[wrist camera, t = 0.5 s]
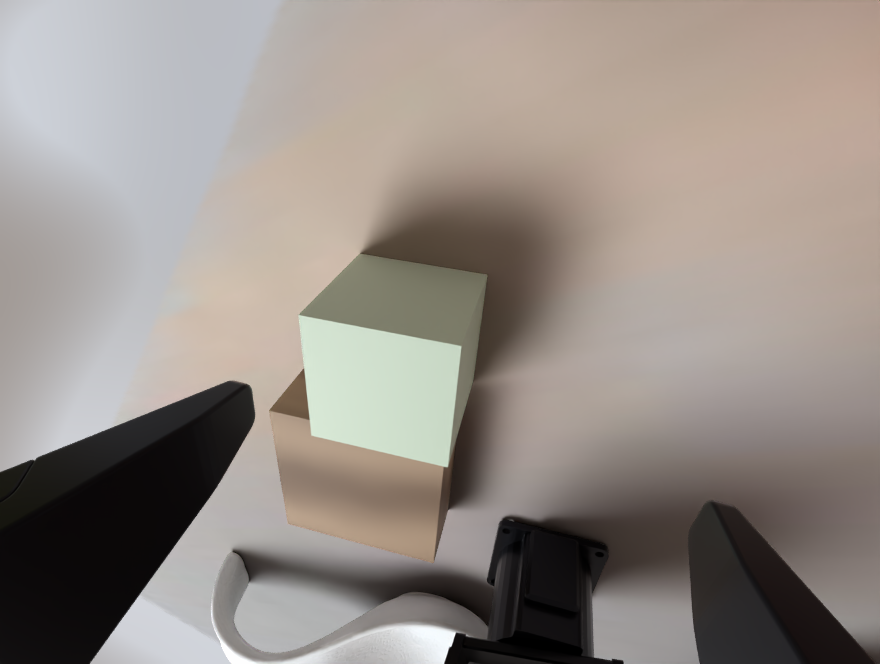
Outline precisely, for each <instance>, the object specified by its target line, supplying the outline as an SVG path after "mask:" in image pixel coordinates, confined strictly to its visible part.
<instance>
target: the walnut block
mask: <svg viewBox="0 0 880 664" xmlns="http://www.w3.org/2000/svg"><path fill="white" fill-rule="evenodd" d="M269 413H270V419H271V425H272V431H273V437H274V443H275V449H276V455H277V461H278V467H279V473H280V479H281V485H282V491H283V497H284V503H285V509H286V515H287V521H288V524H291V525H294V526H298V527H302V528H305V529H309V530H313V531H317V532H320V533H324V534H328V535H331V536H335V537H339V538H342V539H346V540H350V541H353V542H357V543H361V544H364V545H368V546H372V547H376V548H379V549H383V550H387V551H390V552H394V553H398V554H401V555H405V556H409V557H412V558H416V559H420V560H423V561H427V562H431V563H434V560H435V556H436V552H437V549H438V545H439V541H440V538H441V534H442V530H443V526H444V523H445V519H446V515H447V512H448V505H449V497H450V489H451V480H452V472H453V464H454V455H455V447H456V442H455V445H454V448H453V452H452V455H451V459H450V462H449V465H448V467H443V466H439V465H435V464H430V463H426V462H422V461H418V460H413V459H409V458H405V457H401V456H396V455H392V454H388V453H383V452H379V451H375V450H371V449H366V448H362V447H358V446H354V445H349V444H345V443H341V442H336V441H332V440H328V439H324V438H319V437H315V436H311V427H310V418H309V408H308V399H307V390H306V380H305V371H304V369H303V370H302V371H301V373H300V374H299V375H298V376H297V377H296V379H295V380H294V381H293V382H292V383H291V385H290V386H289V387H288V388H287V390H286V391H285V392H284V393H283V394H282V396H281V397H280V398H279V399H278V400H277V402H276V403H275V404H274V405H273V407H272V408H271V409H270V410H269ZM456 439H457V438H456Z"/></svg>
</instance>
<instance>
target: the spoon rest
mask: <svg viewBox="0 0 880 664" xmlns="http://www.w3.org/2000/svg"><path fill="white" fill-rule="evenodd" d="M248 583H249V577H248V573H247V571H246V569H245V566H244V562H243V560H242V559H241V557H240V556H239V555H238V554H236V553H234V552H231V553H229V554H228V555H227V557H226V559H225V560H224V562H223V564H222V566H221V568H220V570H219V573H218V575H217V578H216V581H215V585H214V589H213V594H212V601H211V617H212V623H213V626H214V629H215V632H216V634H217V636H218V638H219V639H220V642H221V646H222V648H223V651H224V652H225V655H226V656H227V658H228V659H229V661H230V662H231V664H444V662H445V659H446V656H447V653H448V649H449V647H451V646H452V643H453V640H454V637H455V634H456V632H457V633H463V634H466V636H470V637H476V638H481V639H487V633H488V626H487V625H486V624H485V623H484V622H483V621H482V620H481V619H480V618H479V617H478V616H476V615H475V614H474V613H472V612H471V611H470V610H468V609H466V608H465V607H463V606H461V605H459V604H457V603H454V602H453V601H451V600H448V599H446V598H444V597H441V596H437V595H434V594H429V593H423V592H410V593H405V594H402V595H400V596H399V597H398V598H394V599H392V600H389V601H386V602H384V603H382V604H380V605H378V606H376V607H375V608H373V609H371V610H370V611H368V612H367V613H365V614H363V615H362V616H360V617H358V618H357V619H355V620H353V621H351V622H350V623H348V624H346V625H345V626H343V627H341V628H339V629H338V630H336V631H334V632H333V633H331V634H329V635H327V636H325V637H324V638H322V639H319V640H317V641H315V642H313V643H311V644H309V645H307V646H304V647H301V648H299V649H296V650H292V651H288V652H282V653H268V652H263V651H260V650H258V649H255V648H254V647H252V646H251V645H249V644H248V643H247V642H246V641H245V640H244V639H243V638H242V637H241V635H240V634H239V633H238V631H237V629H236V627H235V624H234V615H235V612H236V609H237V606H238V604H239V602H240V600H241V598H242V596H243V594H244V592H245V590H246V588H247V586H248Z"/></svg>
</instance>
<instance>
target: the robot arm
mask: <svg viewBox="0 0 880 664" xmlns="http://www.w3.org/2000/svg"><path fill="white" fill-rule="evenodd" d="M254 420H255V409H254V401H253V394H252V388H251V387H250V385H248V384H245V383H241V382H237V381H227V382H225V383H222V384H220V385H217V386H215V387H212V388H210V389H207V390H205V391H202V392H200V393H197V394H195V395H192V396H190V397H187V398H185V399H182V400H180V401H177V402H175V403H172V404H170V405H167V406H165V407H162V408H160V409H157V410H155V411H152V412H150V413H147V414H145V415H142V416H140V417H137V418H135V419H132V420H130V421H127V422H125V423H122V424H120V425H117V426H115V427H112V428H110V429H107V430H105V431H102V432H100V433H97V434H95V435H93V436H90V437H87V438H85V439H82V440H80V441H77V442H75V443H72V444H70V445H67V446H65V447H62V448H60V449H58V450H55V451H52V452H50V453H47V454H45V455H42V456H40V457H38V458H36V460H35V461H34V460H30V461H27V462H25V463H22V464H20V465H17V466H15V467H12V468H10V469H7V470H4V471H2V472H0V664H90V662H91V661H92V660H93V658H94V657H95V656H96V654H97V653H98V652H99V650H100V649H101V647H102V646H103V645H104V643H105V641H106V640H107V639H108V638H109V636H110V635H111V633H112V632H113V631H114V629H115V628H116V627H117V625H118V624H119V622H120V621H121V620H122V618H123V617H124V615H125V614H126V613H127V611H128V610H129V609H130V607H131V605H132V604H133V603H134V602H135V600H136V599H137V597H138V596H139V595H140V593H141V592H142V591H143V589H144V588H145V586H146V585H147V584H148V582H149V581H150V579H151V578H152V577H153V575H154V574H155V573H156V571H157V570H158V568H159V567H160V566H161V564H162V563H163V561H164V560H165V559H166V557H167V556H168V555H169V553H170V552H171V550H172V549H173V548H174V546H175V545H176V543H177V542H178V541H179V539H180V538H181V537H182V535H183V534H184V532H185V531H186V530H187V528H188V527H189V525H190V524H191V523H192V521H193V520H194V519H195V517H196V516H197V514H198V513H199V512H200V510H201V509H202V507H203V506H204V505H205V503H206V502H207V501H208V499H209V498H210V496H211V495H212V493H213V492H214V490H215V489H216V488H217V486H218V484H219V483H220V481H221V479H222V478H223V476H224V474H225V473H226V471H227V469H228V467H229V466H230V464H231V462H232V460H233V459H234V457H235V455H236V453H237V452H238V450H239V448H240V447H241V445H242V443H243V441H244V440H245V438H246V436H247V434H248V433H249V431H250V429H251V427H252V425H253V423H254ZM688 547H689V564H690V580H691V597H692V613H693V624H694V632H695V638H696V645H697V650H698V656H699V662H700V664H876V663H875V662H874V660H873V659H872V658H871V657H870V656H869V655H868V654H867V653H866V652H865V650H864V649H863V648H862V647H861V646H860V645H859V644H858V643H857V642H856V640H855V639H854V638H853V637H852V636H851V635H850V634H849V633H848V632H847V630H846V629H845V628H844V627H843V626H842V625H841V624H840V623H839V621H838V620H837V619H836V618H835V617H834V616H833V615H832V614H831V613H830V611H829V610H828V609H827V608H826V607H825V606H824V605H823V604H822V603H821V601H820V600H819V599H818V598H817V597H816V596H815V595H814V594H813V593H812V591H811V590H810V589H809V588H808V587H807V586H806V585H805V584H804V583H803V581H802V580H801V579H800V578H799V577H798V576H797V575H796V574H795V573H794V571H793V570H792V569H791V568H790V567H789V566H788V565H787V564H786V562H785V561H784V560H783V559H782V558H781V557H780V556H779V555H778V554H777V552H776V551H775V550H774V549H773V548H772V547H771V546H770V545H769V544H768V542H767V541H766V540H765V539H764V538H763V537H762V536H761V535H760V534H759V532H758V531H757V530H756V529H755V528H754V527H753V526H752V525H751V524H750V522H749V521H748V520H747V519H746V518H745V517H744V516H743V515H742V514H741V512H740V511H739V510H738V509H737V508H736V507H734V506H732V505H730V504H726V503H722V502H718V501H714V500H710V501H707V502H706V503H705V504H704V506H703V508H702V509H701V511H700V513H699V514H698V516H697V518H696V519H695V521H694V523H693V524H692V526H691V528H690V531H689V535H688ZM607 559H608V548H607V546H606V545H604V544H602V543H598V542H594V541H589V540H585V539H581V538H577V537H573V536H569V535H565V534H561V533H557V532H553V531H549V530H545V529H541V528H537V527H533V526H529V525H525V524H521V523H517V522H513V521H509V520H502V521H500V523H499V526H498V530H497V535H496V540H495V544H494V549H493V554H492V558H491V563H490V567H489V572H488V578H487V582H488V583H489V584H490V585H492V586H494V592H493V599H492V606H491V613H490V620H489V627H488V633H487V639H481V638H476V637H470V636H466V634H463V633H457V632H456V634H455V637H454V640H453V643H452V646H451V647H449V649H448V653H447V656H446V659H445V662H444V664H624V663H623V660H617V659H612V661H611V660H605V659H599V658H594V644H593V613H592V593H593V590H594V588H595V586H596V584H597V581H598V579H599V577H600V574H601V572H602V570H603V568H604V565H605V563H606V561H607Z"/></svg>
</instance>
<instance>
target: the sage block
mask: <svg viewBox="0 0 880 664" xmlns="http://www.w3.org/2000/svg"><path fill="white" fill-rule="evenodd" d="M487 276H488V275H487V274H481V273H475V272H469V271H463V270H457V269H451V268H445V267H439V266H432V265H426V264H420V263H414V262H408V261H402V260H396V259H390V258H384V257H378V256H372V255H366V254H359V255H358V256H357V257H356V258H355V259H354V260H353V261H352V262H351V263H350V264H349V265H348V266H347V267H346V268H345V269H344V270H343V271H342V272H341V273H340V274H339V275H338V276H337V277H336V278H335V279H334V280H333V281H332V282H331V283H330V284H329V285H328V286H327V287H326V288H325V289H324V290H323V291H322V292H321V293H320V294H319V295H318V296H317V297H316V298H315V299H314V300H313V301H312V302H311V303H310V304H309V305H308V306H307V307H306V308H305V309H304V310H303V311H302V312H301V313H300V314H299V324H300V334H301V343H302V352H303V362H304V371H305V380H306V390H307V399H308V408H309V418H310V427H311V436H315V437H319V438H324V439H328V440H332V441H336V442H341V443H345V444H349V445H354V446H358V447H362V448H366V449H371V450H375V451H379V452H383V453H388V454H392V455H396V456H401V457H405V458H409V459H413V460H418V461H422V462H426V463H430V464H435V465H439V466H443V467H448V465H449V462H450V459H451V455H452V452H453V448H454V445H455V442H456V438H457V435H458V431H459V428H460V425H461V421H462V418H463V414H464V411H465V408H466V404H467V401H468V397H469V394H470V391H471V387H472V384H473V380H474V372H475V365H476V357H477V350H478V342H479V335H480V328H481V320H482V313H483V305H484V298H485V290H486V283H487Z"/></svg>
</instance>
